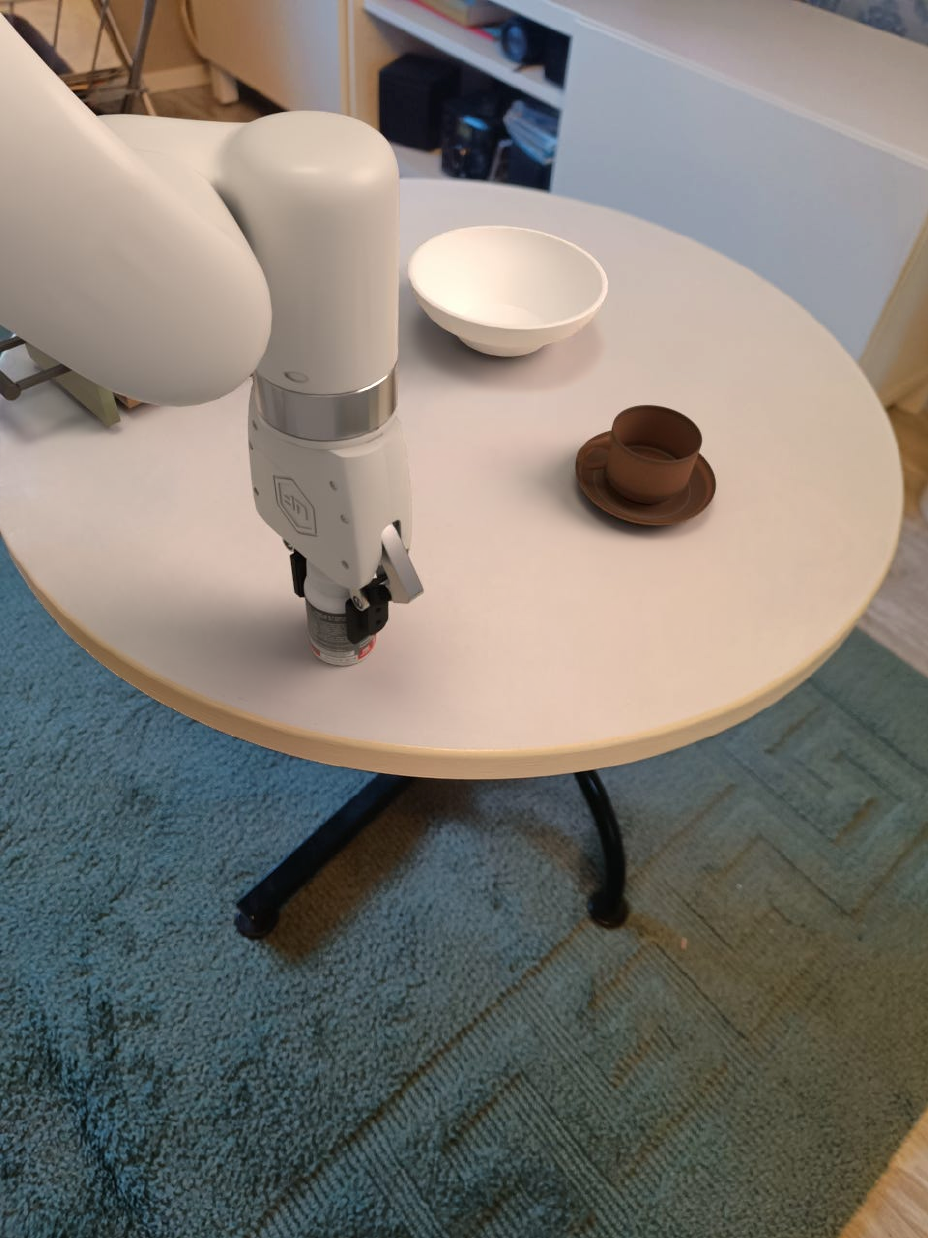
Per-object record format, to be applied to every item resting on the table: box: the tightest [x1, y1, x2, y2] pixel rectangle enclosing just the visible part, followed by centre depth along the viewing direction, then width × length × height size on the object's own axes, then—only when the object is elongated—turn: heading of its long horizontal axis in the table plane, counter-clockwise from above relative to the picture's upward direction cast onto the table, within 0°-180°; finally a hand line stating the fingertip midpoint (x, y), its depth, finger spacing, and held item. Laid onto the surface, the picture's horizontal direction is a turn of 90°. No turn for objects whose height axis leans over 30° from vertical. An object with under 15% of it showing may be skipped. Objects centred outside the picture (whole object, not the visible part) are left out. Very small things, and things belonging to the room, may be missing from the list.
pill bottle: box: [304, 559, 377, 667], centre depth 59 cm, size 5×5×8 cm
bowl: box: [407, 224, 609, 358], centre depth 86 cm, size 20×20×7 cm
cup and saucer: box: [574, 404, 717, 526], centre depth 73 cm, size 12×12×6 cm
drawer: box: [0, 335, 144, 427], centre depth 77 cm, size 21×13×7 cm, turn 136°
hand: (341, 606), depth 59 cm, fingers closed on pill bottle, 4 cm apart
